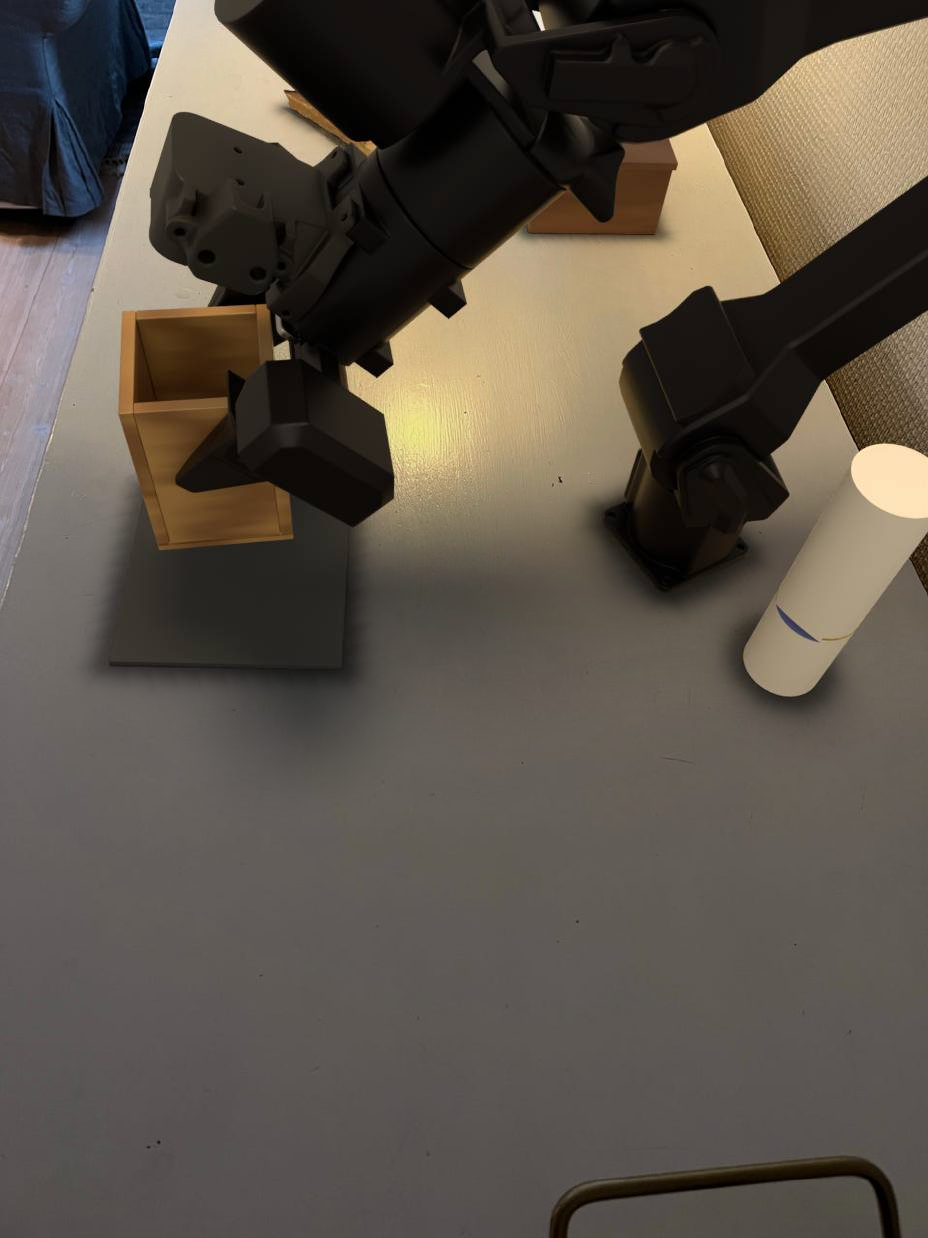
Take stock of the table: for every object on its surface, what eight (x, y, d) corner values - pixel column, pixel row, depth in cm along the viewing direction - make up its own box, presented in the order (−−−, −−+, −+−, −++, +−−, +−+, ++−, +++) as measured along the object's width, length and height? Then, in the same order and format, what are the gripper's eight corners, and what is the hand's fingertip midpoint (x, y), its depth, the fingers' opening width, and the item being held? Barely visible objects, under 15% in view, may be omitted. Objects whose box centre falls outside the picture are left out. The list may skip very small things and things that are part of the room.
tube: (815, 635, 56) (941, 450, 44) (823, 701, 54) (959, 524, 41) (740, 626, 56) (845, 438, 44) (745, 691, 54) (857, 511, 41)
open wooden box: (285, 444, 52) (268, 303, 44) (293, 539, 48) (277, 403, 41) (159, 453, 51) (121, 310, 43) (159, 550, 47) (117, 413, 40)
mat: (341, 669, 52) (341, 666, 52) (110, 665, 51) (108, 661, 51) (351, 498, 59) (350, 493, 59) (146, 491, 58) (144, 486, 58)
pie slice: (284, 107, 82) (282, 85, 81) (354, 79, 86) (354, 58, 84) (369, 167, 78) (369, 145, 77) (439, 135, 82) (440, 114, 80)
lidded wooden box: (658, 235, 76) (678, 163, 71) (526, 234, 75) (537, 159, 70) (630, 152, 83) (647, 80, 78) (508, 149, 81) (517, 76, 76)
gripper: (252, -69, 38) (32, 203, 45) (283, 228, 27) (-7, 516, 35) (444, 127, 45) (229, 332, 53) (524, 416, 35) (244, 619, 43)
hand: (182, 431), depth 46 cm, fingers closed on open wooden box, 6 cm apart
